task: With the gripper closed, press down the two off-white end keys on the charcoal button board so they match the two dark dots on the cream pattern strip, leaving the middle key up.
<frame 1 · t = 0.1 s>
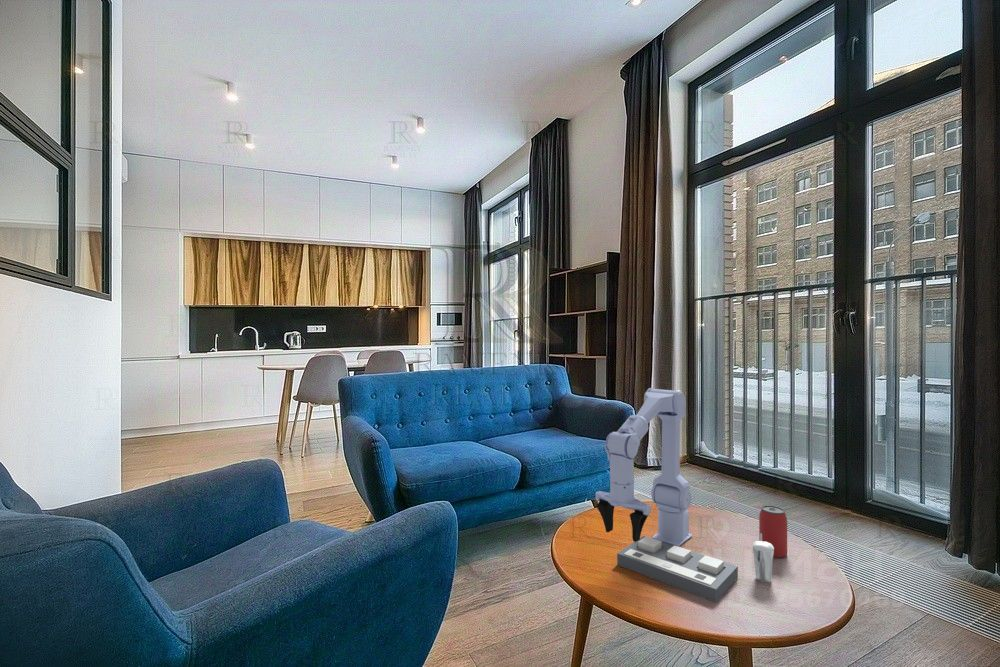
hand: (622, 535, 120), 10 cm above the table, tool pointing down, fingers open, 7 cm apart
milkshake: (763, 579, 118), on the table
key middle: (679, 556, 123), point 3 cm above the table, slide at 0.0 cm
button board: (675, 571, 122), on the table
key 1: (649, 547, 129), point 3 cm above the table, slide at 0.0 cm
key 2: (711, 567, 118), point 3 cm above the table, slide at 0.0 cm
beer can: (773, 553, 131), on the table
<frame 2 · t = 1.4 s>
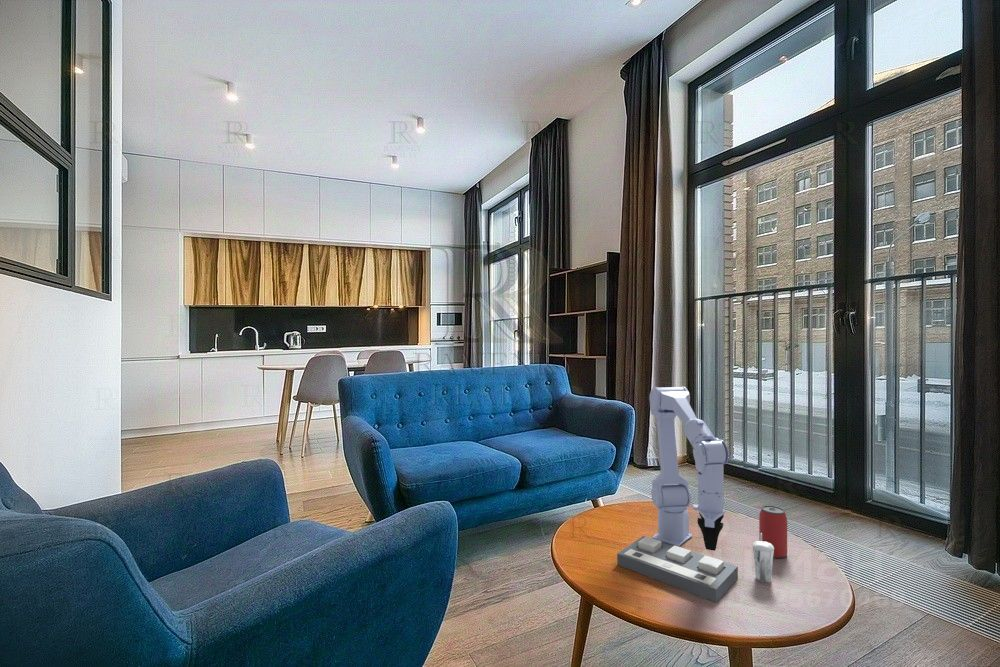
hand: (710, 545, 118), 8 cm above the table, tool pointing down, fingers open, 4 cm apart
nothing on the table moved.
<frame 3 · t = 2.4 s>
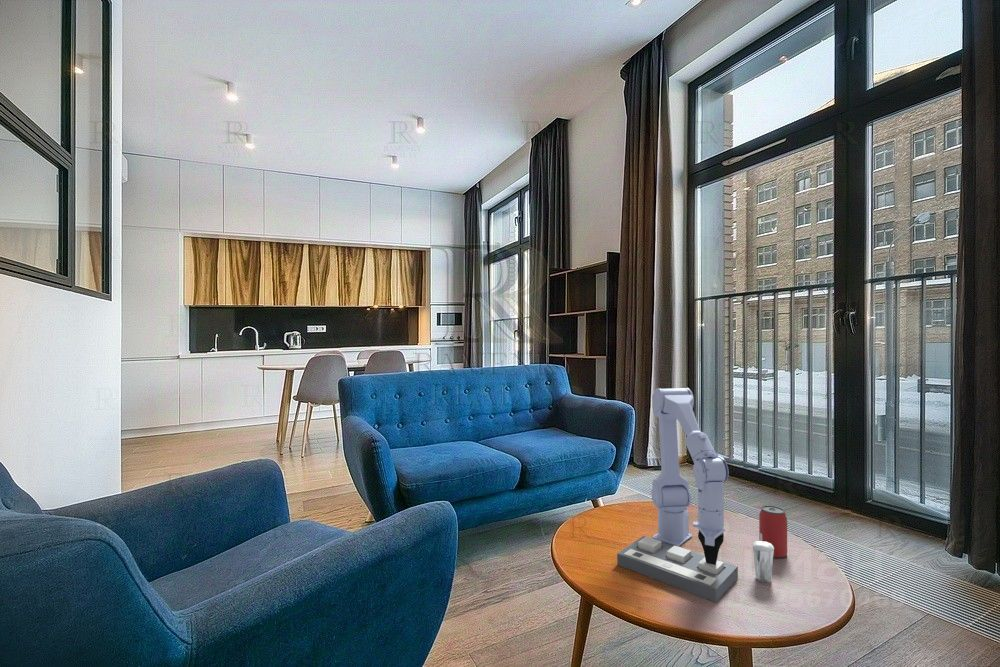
hand: (711, 562, 118), 4 cm above the table, tool pointing down, fingers closed, pressing on key 2
key 2: (711, 568, 118), point 3 cm above the table, slide at 0.3 cm, touching gripper
everything else where it was.
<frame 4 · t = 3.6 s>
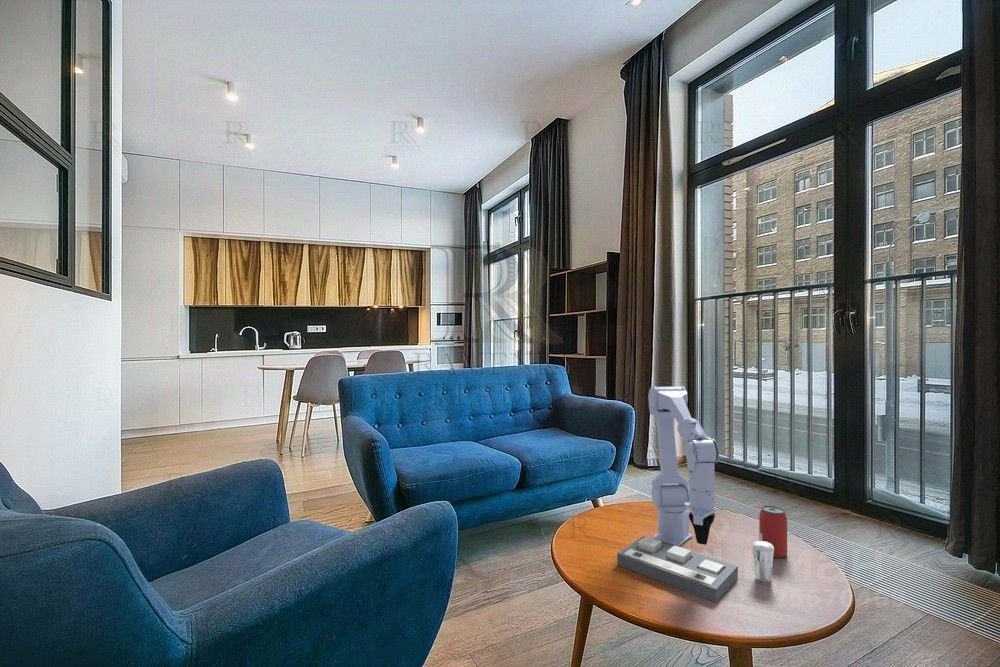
hand: (702, 543, 119), 8 cm above the table, tool pointing down, fingers closed
key 2: (711, 571, 118), point 2 cm above the table, slide at 1.0 cm
everything else where it was.
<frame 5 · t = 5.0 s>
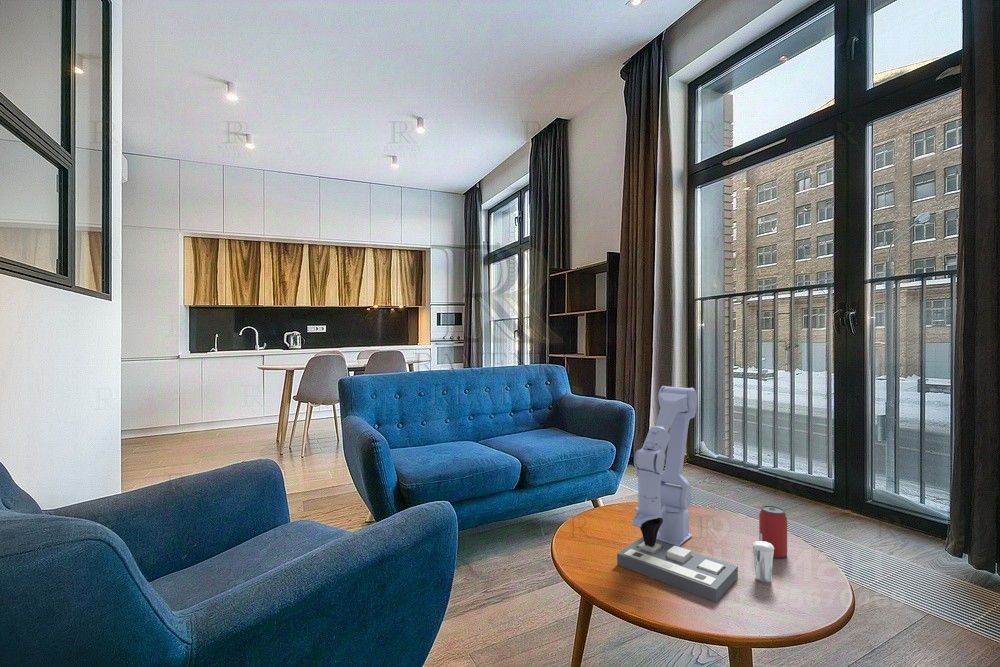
hand: (649, 545, 129), 3 cm above the table, tool pointing down, fingers closed, pressing on key 1
key 1: (649, 550, 129), point 2 cm above the table, slide at 1.0 cm, touching gripper
everything else where it was.
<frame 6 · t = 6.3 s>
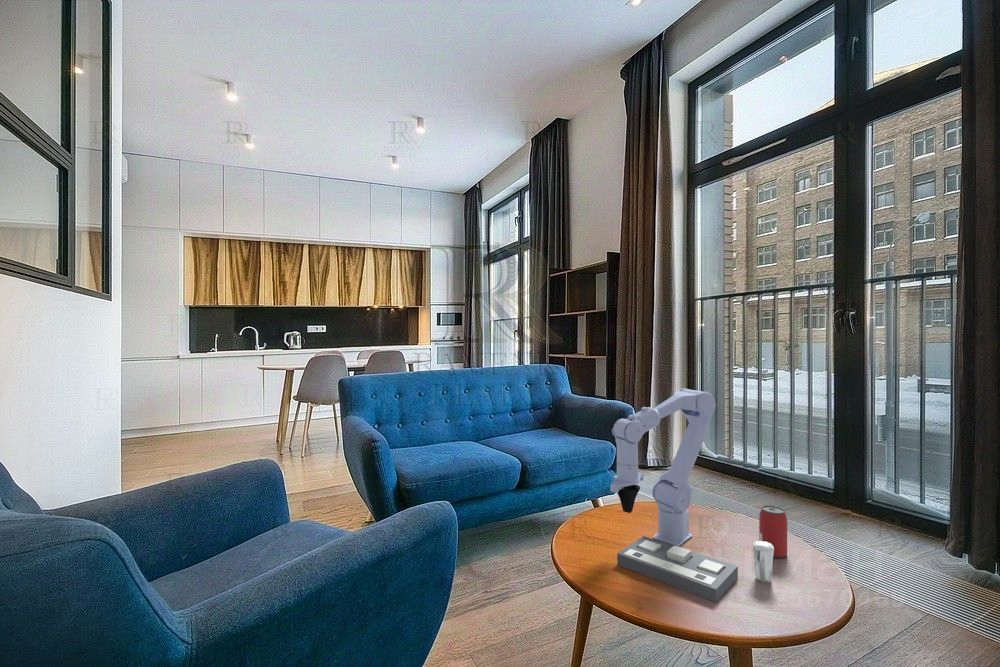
hand: (627, 511, 134), 10 cm above the table, tool pointing down, fingers closed
key 1: (649, 550, 129), point 2 cm above the table, slide at 1.0 cm
everything else where it was.
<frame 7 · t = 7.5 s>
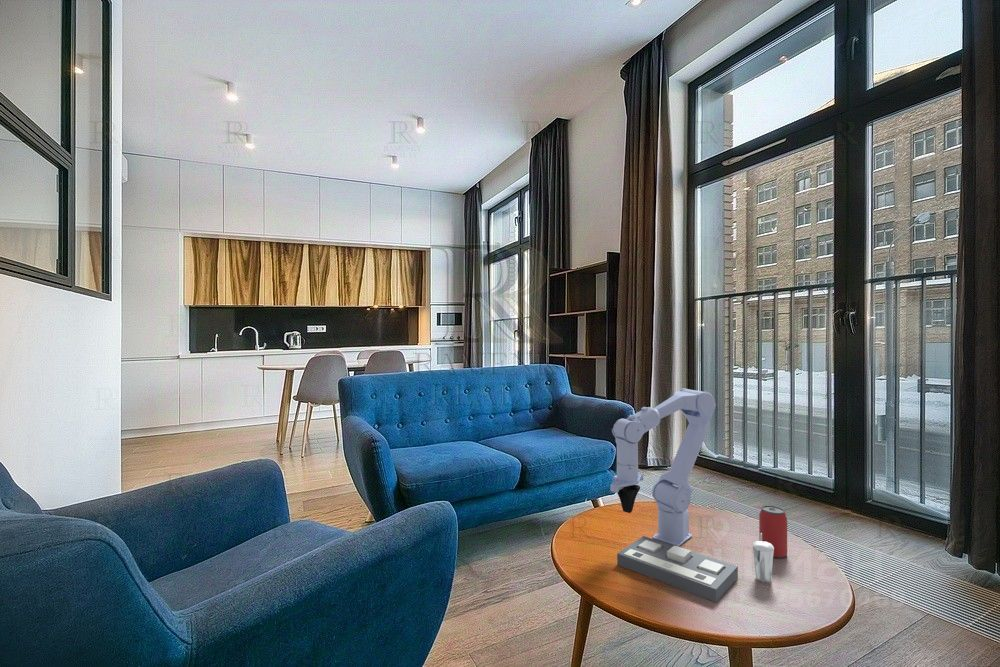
hand: (627, 511, 134), 10 cm above the table, tool pointing down, fingers closed
nothing on the table moved.
at the end: key 2 slide at 1.0 cm; key 1 slide at 1.0 cm; key middle slide at 0.0 cm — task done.
